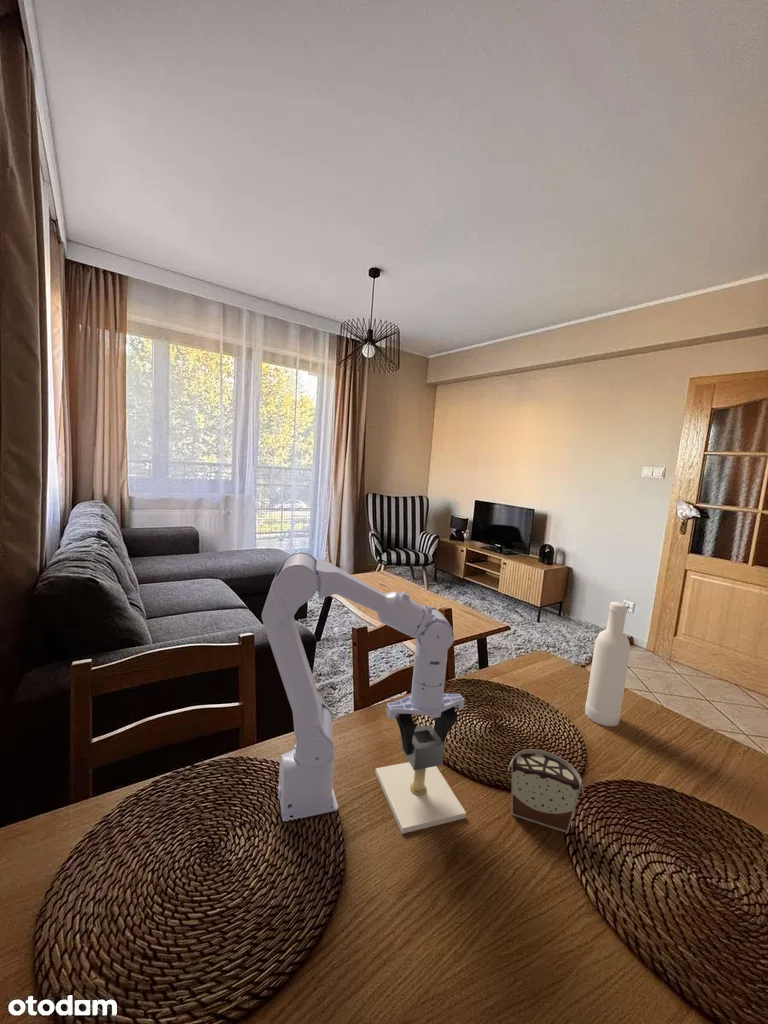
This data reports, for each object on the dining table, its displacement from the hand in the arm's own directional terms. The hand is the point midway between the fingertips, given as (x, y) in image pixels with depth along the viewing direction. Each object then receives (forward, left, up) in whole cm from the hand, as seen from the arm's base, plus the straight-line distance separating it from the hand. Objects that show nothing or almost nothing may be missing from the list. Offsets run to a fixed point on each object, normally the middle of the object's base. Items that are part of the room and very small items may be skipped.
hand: (422, 748), depth 78 cm
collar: (0, 0, -2) cm, 2 cm away
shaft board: (0, 0, -9) cm, 9 cm away
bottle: (+56, +11, -10) cm, 58 cm away
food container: (+20, -9, -10) cm, 24 cm away
